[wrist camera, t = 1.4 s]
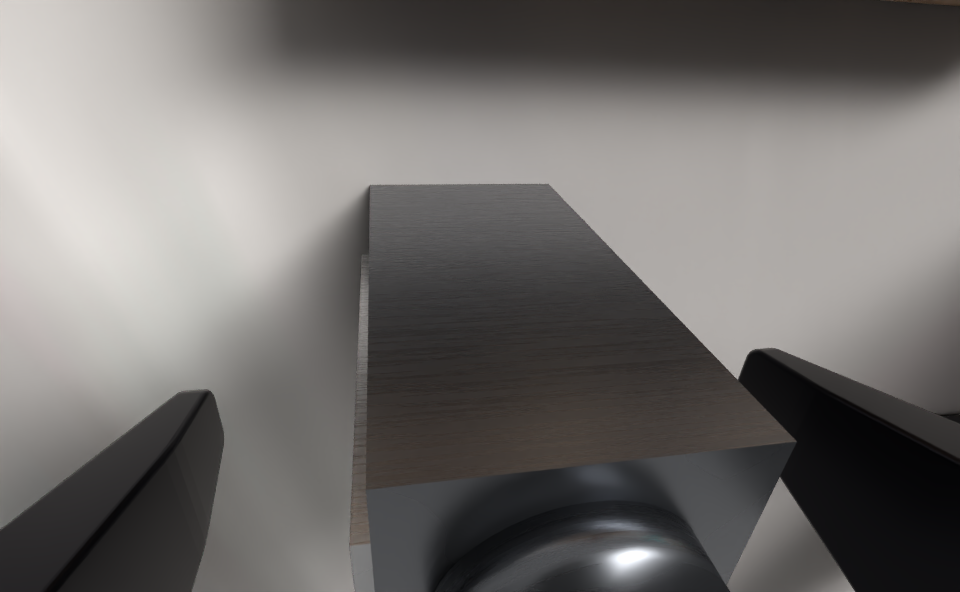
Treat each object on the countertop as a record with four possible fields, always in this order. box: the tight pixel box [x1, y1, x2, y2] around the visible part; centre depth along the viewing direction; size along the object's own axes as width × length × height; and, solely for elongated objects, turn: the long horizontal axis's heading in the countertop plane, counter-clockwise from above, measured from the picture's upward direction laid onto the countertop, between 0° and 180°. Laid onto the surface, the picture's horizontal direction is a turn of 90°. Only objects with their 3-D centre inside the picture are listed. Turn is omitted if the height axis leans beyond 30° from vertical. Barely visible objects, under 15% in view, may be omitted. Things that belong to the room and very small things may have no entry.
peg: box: [349, 184, 797, 592], centre depth 9 cm, size 4×4×9 cm
